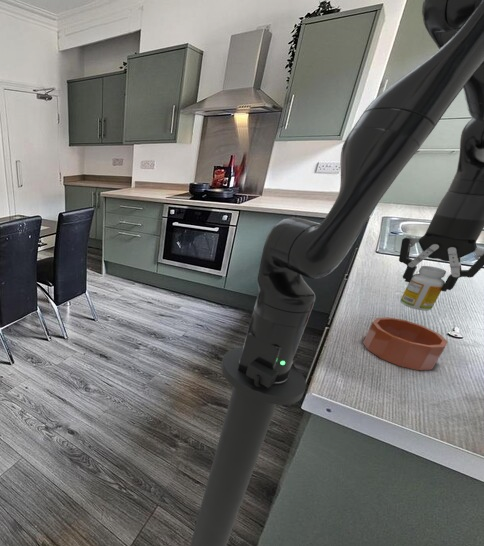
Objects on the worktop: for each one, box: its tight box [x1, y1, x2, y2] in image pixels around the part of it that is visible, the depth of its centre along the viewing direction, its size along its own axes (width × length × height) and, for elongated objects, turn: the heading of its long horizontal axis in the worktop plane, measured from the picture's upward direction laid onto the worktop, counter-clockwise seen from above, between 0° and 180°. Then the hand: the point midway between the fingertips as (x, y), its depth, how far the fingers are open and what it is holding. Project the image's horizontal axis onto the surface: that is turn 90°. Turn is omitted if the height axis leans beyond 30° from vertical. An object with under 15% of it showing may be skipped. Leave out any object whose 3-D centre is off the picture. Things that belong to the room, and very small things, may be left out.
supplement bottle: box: [399, 265, 447, 312], centre depth 73 cm, size 5×5×10 cm
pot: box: [362, 317, 449, 371], centre depth 70 cm, size 12×12×6 cm
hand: (425, 285), depth 73 cm, fingers closed on supplement bottle, 5 cm apart
